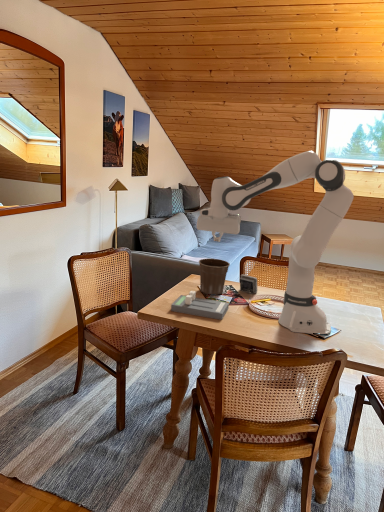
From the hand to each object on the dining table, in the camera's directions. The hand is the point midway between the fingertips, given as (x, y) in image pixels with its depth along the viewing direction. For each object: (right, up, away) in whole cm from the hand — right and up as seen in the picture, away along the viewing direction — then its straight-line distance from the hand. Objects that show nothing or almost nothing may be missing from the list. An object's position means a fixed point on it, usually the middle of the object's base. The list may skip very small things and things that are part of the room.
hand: (216, 241), depth 185 cm
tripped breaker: (-12, -27, +2) cm, 30 cm away
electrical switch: (+18, -27, +27) cm, 42 cm away
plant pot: (-1, -26, +24) cm, 35 cm away
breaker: (-13, -29, -4) cm, 32 cm away
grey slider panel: (-8, -32, -1) cm, 33 cm away
